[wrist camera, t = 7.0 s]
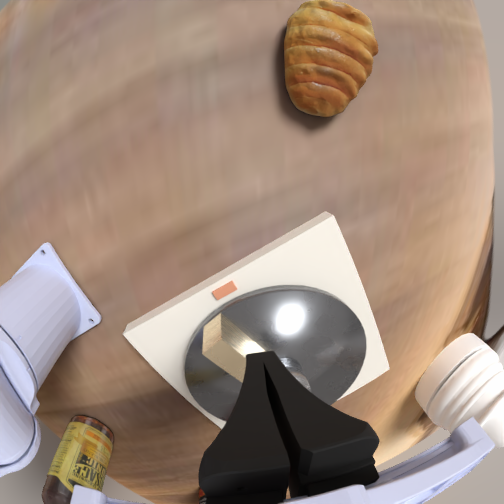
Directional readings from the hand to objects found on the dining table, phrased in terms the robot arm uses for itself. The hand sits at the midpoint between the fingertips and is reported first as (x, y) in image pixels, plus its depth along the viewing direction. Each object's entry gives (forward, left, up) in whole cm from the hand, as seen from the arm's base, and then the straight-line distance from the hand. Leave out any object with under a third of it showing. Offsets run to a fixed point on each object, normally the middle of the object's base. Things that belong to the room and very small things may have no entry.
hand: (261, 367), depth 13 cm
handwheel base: (-1, -7, -9) cm, 11 cm away
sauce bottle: (-26, -7, -9) cm, 29 cm away
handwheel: (-1, -7, -7) cm, 9 cm away
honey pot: (+18, -28, -9) cm, 34 cm away
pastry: (+14, +13, -9) cm, 21 cm away
